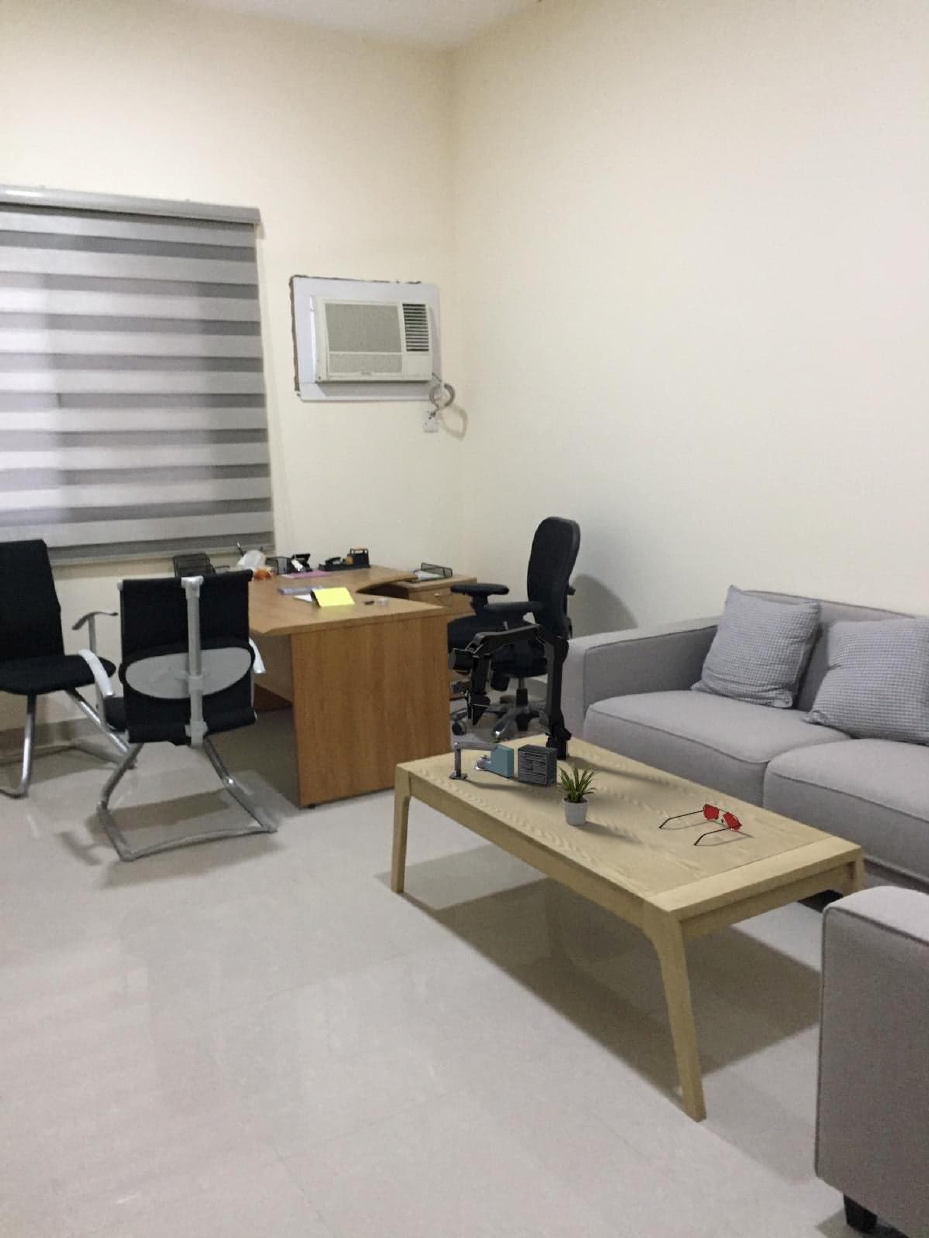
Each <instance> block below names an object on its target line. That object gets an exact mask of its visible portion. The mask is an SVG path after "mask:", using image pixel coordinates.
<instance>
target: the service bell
mask: <svg viewBox="0 0 929 1238" xmlns="http://www.w3.org/2000/svg"><path fill="white" fill-rule="evenodd" d="M487 756H488V754H481V756H480V757H481V758H482V759H487ZM473 767H474V768H473V769H474V770H476V771H481V770H487V769H485V768H478V767H477V764H475V765H473Z"/></svg>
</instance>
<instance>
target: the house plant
mask: <svg viewBox="0 0 929 1238" xmlns="http://www.w3.org/2000/svg"><path fill="white" fill-rule="evenodd" d="M596 764H597V762H595V763H591V764H589V765H588V766H587V767H586V768H585V769H584V771H583V772H582V775H581V778H580V775H579V768H578V767H577V765H576V764H575V762H574V761H571V764H568V766H569V767H570V768H571V770H572V773H573V776H574V779H573V777H571V778H570V776H569V775H568V773H567V772H566V771H565V770H564V769H563V768H562V767H561V766H559V765H558V764H557V765H556V766H557V769H559V770H560V775H559V774H558V773H557V776H559V777H560V779H561V782H560V784H562V785H564V786H562V785H560V784H559V785H558V784H557V785H556V784H555V786H556V787H558V788H560V789H561V790H563V791H565V792H567V794H566V793H565V792H563V791H561V790H558V791H557V792H555V793H558V794H559V793H560V794H564V795H565V796H563V797H562V806H563V811H564V812H563V813H564V819H565V823H566V824H567V825H568V824H569V825H571V826H572V825H573V826H582V825H584V824H585V823H586V820H587V815H588V808H589V803H590V799H589V797H587V796H585V795H587V794H588V795H589V794H590V795H591V794H592V795H595V796H597V794H596V793H595V792H593V790H595V791H598V789H597V788H596V787H590V788H588V786H589V785H590V783H591V782H592V781H594V780H595V779H594V778H593V777H594V776H595V775H598V774H599V773H600V774H601V773H604V771H598V769H597V770H593V771H592V772H591V773H589V771H591V768H592V767H593V766H594V765H596ZM588 773H589V774H588ZM554 774H555V773H554ZM591 778H593V779H591ZM590 790H592V791H590Z"/></svg>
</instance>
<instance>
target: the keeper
mask: <svg viewBox="0 0 929 1238" xmlns="http://www.w3.org/2000/svg"><path fill="white" fill-rule="evenodd" d="M498 744H499V743H498ZM498 744H497V743H491V742H489V743H488V742H477V741H476V742H475V741H463V740H459V741H458V742H454V745H453V746H454V772H452V773H451V774H450V775H449V776H448V779H449V778H456V779H455V780H461V779H463V780H464V779H465V778H466V777H467V776H468V773H466V772H462V750H470V751H481V752H482V751H483V752H491V751H495V750H496V749H497V748H498ZM466 775H467V776H466ZM464 777H465V778H464Z"/></svg>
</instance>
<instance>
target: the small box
mask: <svg viewBox="0 0 929 1238" xmlns="http://www.w3.org/2000/svg"><path fill="white" fill-rule="evenodd" d="M556 765H557V766H558V759H557V749H556V748H549V747H546V746H542V745H534V744H529V743H527V744H524V745H523V746H520V747H518V748H517V782H518V783H523V784H528V785H535V786H541V787H545V788H549V787H550V786H552V785H555V784H556V783H557V782H558V775H557V774H558V767H557V766H556ZM554 773H555V774H554Z"/></svg>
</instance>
